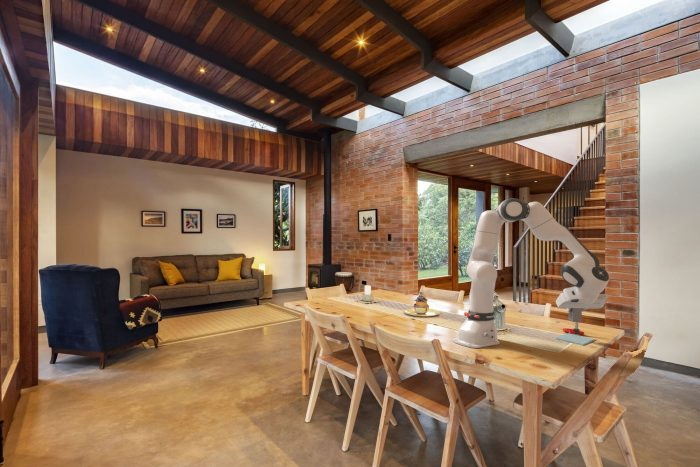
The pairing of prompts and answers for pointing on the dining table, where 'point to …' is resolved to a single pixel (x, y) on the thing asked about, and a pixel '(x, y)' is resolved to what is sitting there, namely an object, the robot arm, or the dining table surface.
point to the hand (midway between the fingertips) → (574, 310)
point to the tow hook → (575, 330)
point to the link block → (575, 315)
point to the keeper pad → (575, 339)
